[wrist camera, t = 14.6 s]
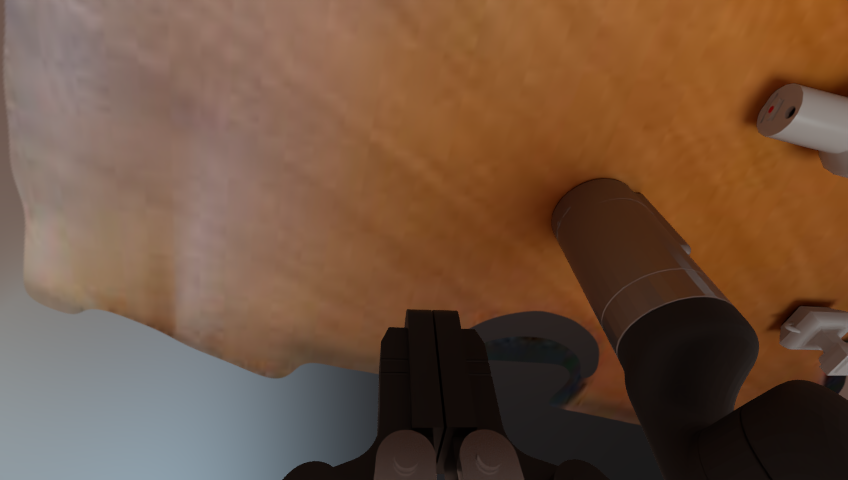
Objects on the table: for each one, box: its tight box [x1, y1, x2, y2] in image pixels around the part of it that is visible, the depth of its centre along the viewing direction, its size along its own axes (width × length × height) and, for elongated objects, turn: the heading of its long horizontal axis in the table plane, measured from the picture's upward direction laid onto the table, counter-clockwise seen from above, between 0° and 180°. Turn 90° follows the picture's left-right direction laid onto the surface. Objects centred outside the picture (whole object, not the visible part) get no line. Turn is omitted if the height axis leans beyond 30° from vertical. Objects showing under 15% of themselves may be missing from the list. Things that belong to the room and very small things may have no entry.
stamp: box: [779, 306, 848, 375], centre depth 56 cm, size 9×7×8 cm
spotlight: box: [757, 83, 848, 178], centre depth 38 cm, size 8×11×8 cm
